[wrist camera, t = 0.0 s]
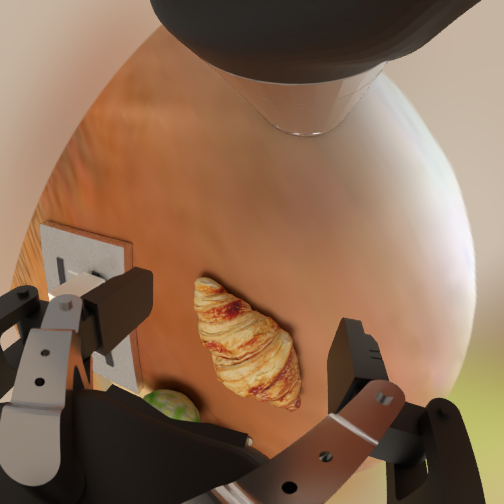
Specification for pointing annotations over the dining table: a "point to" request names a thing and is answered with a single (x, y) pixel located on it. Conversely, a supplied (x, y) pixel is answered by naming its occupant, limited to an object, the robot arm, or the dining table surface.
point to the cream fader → (77, 285)
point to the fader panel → (103, 266)
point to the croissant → (247, 347)
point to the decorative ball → (173, 405)
